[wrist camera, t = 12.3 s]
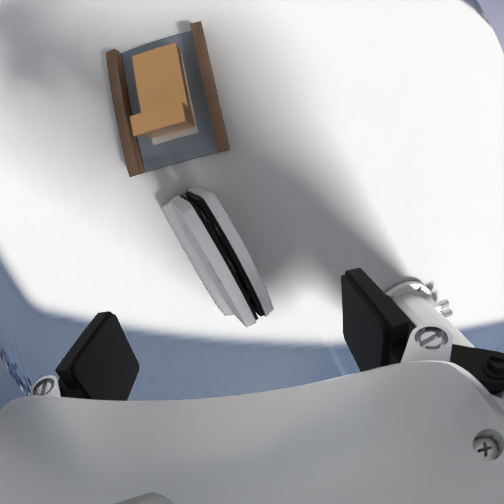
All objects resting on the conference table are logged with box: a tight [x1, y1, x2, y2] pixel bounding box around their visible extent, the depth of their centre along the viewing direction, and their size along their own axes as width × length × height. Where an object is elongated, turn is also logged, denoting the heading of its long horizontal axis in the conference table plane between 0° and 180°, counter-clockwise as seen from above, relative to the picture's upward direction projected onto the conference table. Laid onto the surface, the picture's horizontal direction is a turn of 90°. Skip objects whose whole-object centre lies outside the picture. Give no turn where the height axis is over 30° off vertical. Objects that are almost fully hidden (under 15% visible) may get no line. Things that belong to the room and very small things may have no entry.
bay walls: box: [106, 21, 230, 177], centre depth 27 cm, size 11×16×2 cm
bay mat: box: [122, 31, 218, 172], centre depth 28 cm, size 9×16×1 cm, turn 12°
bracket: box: [130, 43, 195, 139], centre depth 24 cm, size 10×5×7 cm, turn 11°
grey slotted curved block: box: [161, 186, 273, 327], centre depth 31 cm, size 17×5×10 cm, turn 25°
